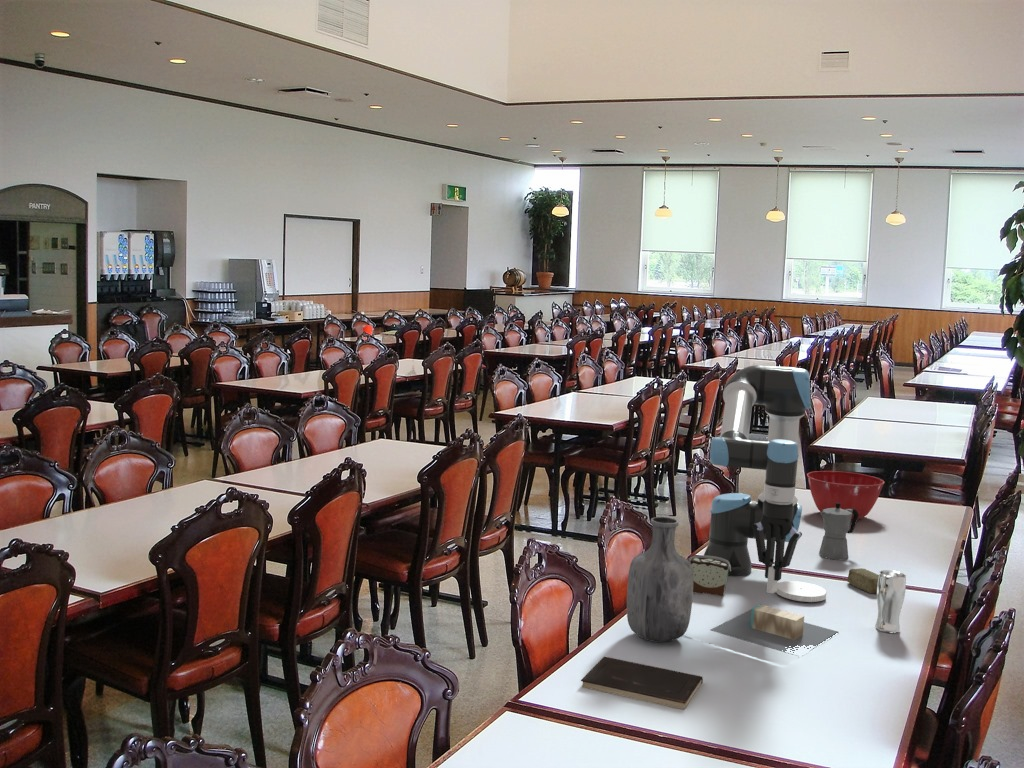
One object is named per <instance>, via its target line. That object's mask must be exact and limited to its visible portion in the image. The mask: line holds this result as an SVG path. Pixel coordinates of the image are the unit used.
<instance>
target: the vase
mask: <svg viewBox="0 0 1024 768" xmlns="http://www.w3.org/2000/svg"><path fill="white" fill-rule="evenodd" d="M650 524H651V525H652V534H651V535H652V536H651V537H652V538H651V543H650V546H649V548H647V550H646V551H645V552H641V553H639V554H637V555H635V556H634V557H633V558H632V560H631V562H630V564H629V569H628V579H627V585H626V586H627V589H626V590H627V591H626V617H627V622H628V623H627V624H628V626H629V628H630V629H631V631H632V632H633V633H634V634H635V635H637V636H638V637H640V638H642V639H643V640H647V641H650V642H654V643H655V642H656V643H666V642H672V641H676V640H678V639H679V638H681V637H683V636H684V635H685V634H686V632H687V631H688V628H689V624H690V621H691V614H692V609H693V608H692V607H693V597H694V595H693V594H694V593H693V569H692V565H691V564H690V562H689V559H687V558H686V557H683V556H682V555H680V554H679V552H678V551H677V549H676V546H675V537H676V536H675V535H676V529H677V527H678V526H679V521H678V519H676V518H672V517H667V516H655V517H651V518H650Z"/></svg>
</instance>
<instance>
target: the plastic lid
mask: <svg viewBox="0 0 1024 768" xmlns="http://www.w3.org/2000/svg"><path fill="white" fill-rule="evenodd" d="M775 593H776V594H777V595H778V596H780V597H782V598H786V599H788V600H791V601H796V602H805V603H817V602H822V601H824V600H826V599H827V590H826V589H825V588H824V587H822V586H820V585H817V584H814V583H809V582H805V581H804V582H803V581H797V580H796V581H795V580H794V581H793V580H790V581H786V580H785V581H780V582H777V591H776V592H775Z"/></svg>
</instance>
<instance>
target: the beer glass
mask: <svg viewBox="0 0 1024 768" xmlns="http://www.w3.org/2000/svg"><path fill="white" fill-rule="evenodd" d="M878 575H879V578H878V584H877V594H876V602H877V618H876V619H877V620H876V623H875V626H874V628H875V627H876V628H877V629H879V630H881V631H885V632H898V633H900V632H901V628H900V627H901V626H900V615H901V612H902V608H903V605H904V602H905V597H906V588H907V587H906V586H907V582H906V580H907V575H906V574H905V573H903V572H900V571H896V570H888V569H887V570H886V569H884V570H879V572H878ZM876 628H875V629H876ZM877 629H876V630H877ZM879 630H878V631H879ZM881 631H880V632H881ZM899 631H900V632H899ZM885 632H884V633H885Z"/></svg>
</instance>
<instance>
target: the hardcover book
mask: <svg viewBox="0 0 1024 768" xmlns="http://www.w3.org/2000/svg"><path fill="white" fill-rule="evenodd" d="M703 681H704V680H703V676H702V675H697V674H692V673H689V672H688V673H687V672H682V671H677V670H672V669H668V668H663V667H659V666H658V667H657V666H653V665H647V664H643V663H638V662H633V661H627V660H623V659H619V658H613V657H610V656H603V657H602V658H601V659H600V660H599V661H598V662H597V663H596V664H595V665H594V666H593V667H592V668H591V669H590V670H589V671H588V672H587V673H586V675H584V677H582V679H580V682H582V688H585V689H589V690H595V691H599V692H604V693H608V694H613V695H617V696H622V697H625V698H626V697H628V698H631V699H635V700H640V701H644V702H649V703H653V704H659V705H662V706H667V707H673V708H675V709H676V708H677V709H680V710H685V708H686V707H687V706H688V705H689V702H690V701H691V699H692V698H693V696H694V695H695V693H696V692H697V691H698V689H699V687H700V686H701V684H703Z"/></svg>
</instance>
